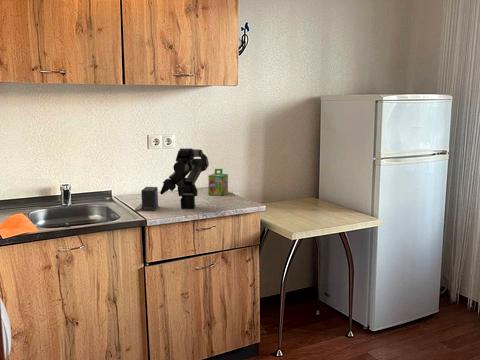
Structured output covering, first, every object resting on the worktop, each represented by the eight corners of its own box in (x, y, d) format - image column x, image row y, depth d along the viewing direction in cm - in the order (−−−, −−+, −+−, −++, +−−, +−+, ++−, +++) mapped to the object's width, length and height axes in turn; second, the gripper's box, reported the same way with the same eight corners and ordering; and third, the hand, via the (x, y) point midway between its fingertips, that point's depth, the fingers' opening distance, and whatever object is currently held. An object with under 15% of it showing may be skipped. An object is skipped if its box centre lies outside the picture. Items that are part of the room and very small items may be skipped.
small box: (154, 211, 230) (153, 190, 228) (141, 211, 230) (140, 190, 228) (158, 206, 240) (158, 186, 239) (146, 206, 241) (145, 186, 239)
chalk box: (208, 195, 267) (207, 169, 264) (213, 192, 276) (213, 167, 273) (223, 196, 264) (223, 170, 262) (228, 193, 273) (228, 168, 270)
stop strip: (145, 206, 241) (145, 203, 241) (139, 211, 230) (139, 209, 229) (140, 206, 241) (140, 203, 241) (134, 211, 230) (134, 209, 229)
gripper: (191, 186, 223) (169, 209, 225) (196, 179, 241) (175, 200, 244) (174, 170, 222) (152, 193, 224) (180, 164, 240) (160, 186, 243)
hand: (160, 193), depth 234 cm, fingers closed
